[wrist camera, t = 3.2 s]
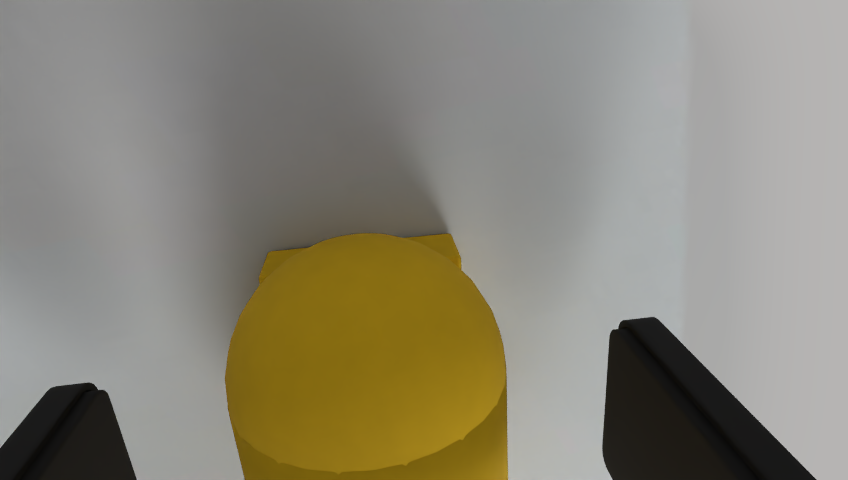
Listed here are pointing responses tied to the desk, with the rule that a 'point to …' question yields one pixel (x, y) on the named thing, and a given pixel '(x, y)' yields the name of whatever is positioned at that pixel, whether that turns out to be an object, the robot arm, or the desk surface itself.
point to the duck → (368, 366)
